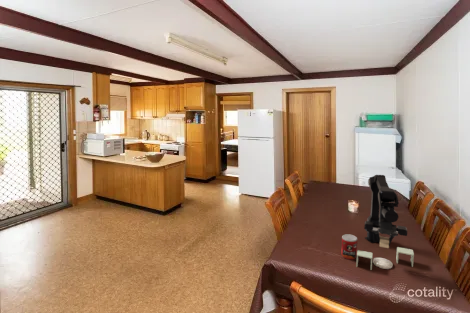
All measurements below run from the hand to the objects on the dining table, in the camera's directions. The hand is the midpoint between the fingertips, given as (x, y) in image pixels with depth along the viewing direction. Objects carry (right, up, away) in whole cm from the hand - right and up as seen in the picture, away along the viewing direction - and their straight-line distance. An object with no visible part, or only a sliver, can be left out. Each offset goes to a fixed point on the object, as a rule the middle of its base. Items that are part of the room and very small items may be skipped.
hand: (384, 243), depth 135 cm
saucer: (0, -11, +2) cm, 11 cm away
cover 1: (-10, -11, +1) cm, 15 cm away
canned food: (-14, -10, +10) cm, 20 cm away
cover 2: (+12, -11, +3) cm, 16 cm away
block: (0, -1, 0) cm, 1 cm away
